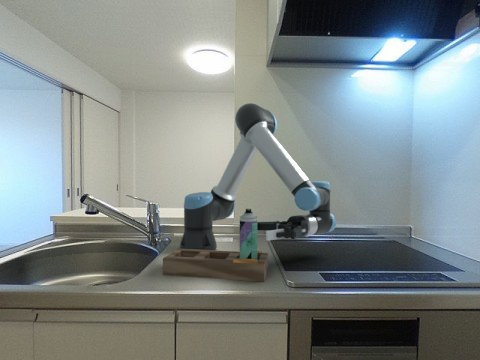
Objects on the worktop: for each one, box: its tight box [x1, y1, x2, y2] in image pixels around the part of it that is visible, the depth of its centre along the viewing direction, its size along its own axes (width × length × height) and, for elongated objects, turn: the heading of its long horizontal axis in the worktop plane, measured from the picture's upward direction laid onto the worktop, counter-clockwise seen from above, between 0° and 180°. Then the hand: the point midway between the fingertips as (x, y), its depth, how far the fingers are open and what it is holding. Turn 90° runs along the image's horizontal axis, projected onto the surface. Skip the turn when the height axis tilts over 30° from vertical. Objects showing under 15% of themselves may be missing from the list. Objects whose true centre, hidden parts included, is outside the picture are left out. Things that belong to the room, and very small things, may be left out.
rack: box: [162, 248, 269, 283], centre depth 87 cm, size 12×31×6 cm, turn 79°
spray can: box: [239, 208, 258, 259], centre depth 85 cm, size 6×6×20 cm
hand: (252, 232), depth 85 cm, fingers open, 13 cm apart
